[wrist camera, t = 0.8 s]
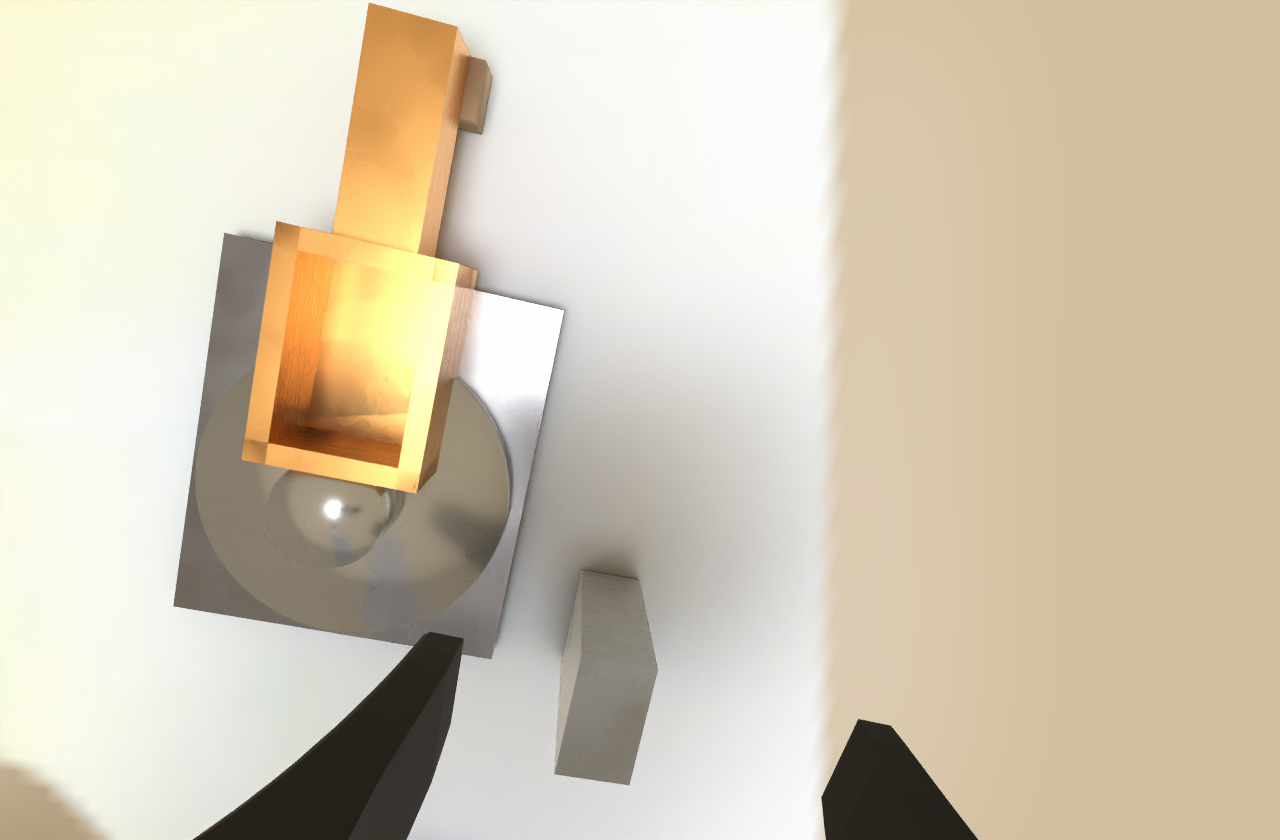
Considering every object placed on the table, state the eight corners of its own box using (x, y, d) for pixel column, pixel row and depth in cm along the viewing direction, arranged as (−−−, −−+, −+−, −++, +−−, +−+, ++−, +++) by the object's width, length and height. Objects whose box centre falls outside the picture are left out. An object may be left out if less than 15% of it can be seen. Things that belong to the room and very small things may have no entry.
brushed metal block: (618, 669, 28) (629, 785, 21) (561, 659, 28) (554, 774, 21) (639, 580, 28) (657, 669, 21) (581, 569, 27) (581, 656, 20)
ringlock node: (494, 649, 28) (476, 715, 23) (185, 597, 26) (102, 657, 22) (606, 107, 25) (612, 61, 20) (266, 16, 23) (189, -54, 19)
